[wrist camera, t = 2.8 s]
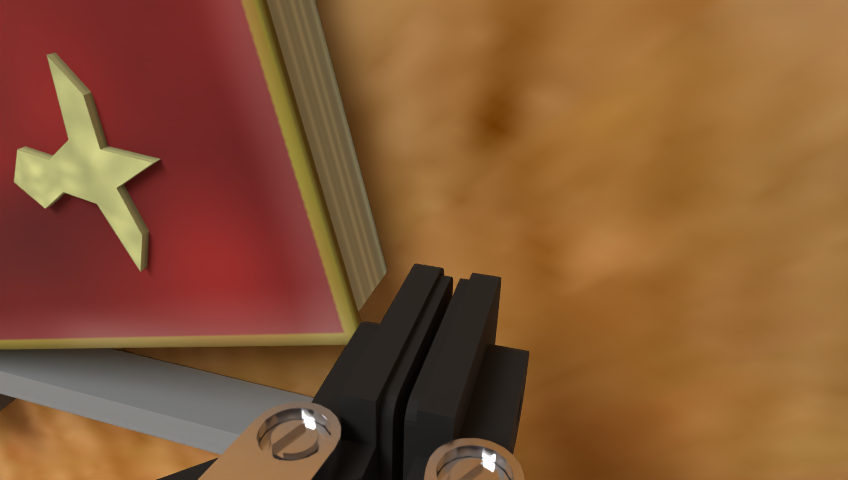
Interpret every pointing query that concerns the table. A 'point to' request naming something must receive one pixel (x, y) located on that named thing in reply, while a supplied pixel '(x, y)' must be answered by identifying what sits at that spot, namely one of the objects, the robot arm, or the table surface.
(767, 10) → the table surface
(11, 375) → the grey u-shaped frame
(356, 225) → the hardcover book
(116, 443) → the table surface
